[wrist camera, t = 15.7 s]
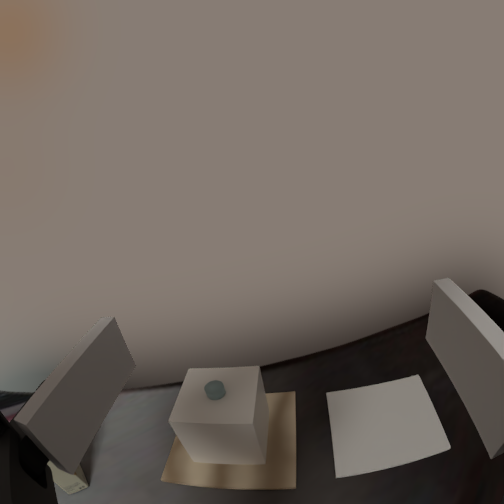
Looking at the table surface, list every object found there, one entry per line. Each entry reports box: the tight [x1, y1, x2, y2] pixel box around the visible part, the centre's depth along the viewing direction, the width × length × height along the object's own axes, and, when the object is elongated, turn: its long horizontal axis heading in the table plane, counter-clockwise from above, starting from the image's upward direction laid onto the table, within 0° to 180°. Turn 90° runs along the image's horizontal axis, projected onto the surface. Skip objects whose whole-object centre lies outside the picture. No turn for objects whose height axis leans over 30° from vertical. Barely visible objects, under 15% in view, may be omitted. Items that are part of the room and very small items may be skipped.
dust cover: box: [168, 366, 269, 465], centre depth 34 cm, size 10×10×11 cm
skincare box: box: [47, 460, 88, 495], centre depth 26 cm, size 6×4×12 cm
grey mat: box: [326, 375, 451, 478], centre depth 33 cm, size 16×16×1 cm
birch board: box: [161, 391, 296, 490], centre depth 36 cm, size 18×18×1 cm
